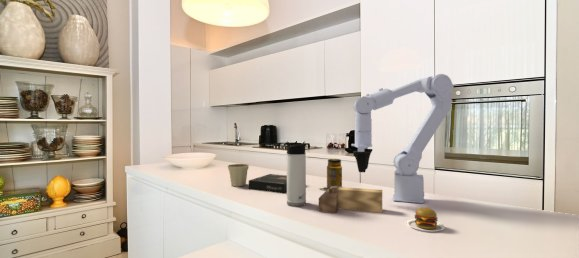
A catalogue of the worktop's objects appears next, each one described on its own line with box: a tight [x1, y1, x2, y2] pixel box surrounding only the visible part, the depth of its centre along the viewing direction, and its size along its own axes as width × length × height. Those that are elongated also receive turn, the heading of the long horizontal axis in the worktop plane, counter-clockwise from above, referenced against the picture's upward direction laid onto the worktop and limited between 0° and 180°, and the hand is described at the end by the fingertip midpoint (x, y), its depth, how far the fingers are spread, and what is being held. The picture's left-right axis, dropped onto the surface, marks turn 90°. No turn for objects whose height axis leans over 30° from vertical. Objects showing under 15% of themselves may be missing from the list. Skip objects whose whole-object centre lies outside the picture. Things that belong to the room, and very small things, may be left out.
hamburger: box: [406, 206, 446, 233], centre depth 77 cm, size 12×12×6 cm
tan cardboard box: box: [318, 186, 339, 214], centre depth 96 cm, size 5×14×5 cm, turn 160°
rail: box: [332, 186, 383, 213], centre depth 93 cm, size 15×4×6 cm, turn 70°
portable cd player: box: [248, 173, 287, 194], centre depth 125 cm, size 16×17×4 cm
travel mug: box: [286, 142, 307, 207], centre depth 98 cm, size 6×7×20 cm
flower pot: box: [226, 163, 250, 188], centre depth 128 cm, size 9×9×9 cm
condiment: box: [319, 158, 343, 192], centre depth 120 cm, size 7×8×12 cm
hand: (363, 170), depth 105 cm, fingers open, 7 cm apart
